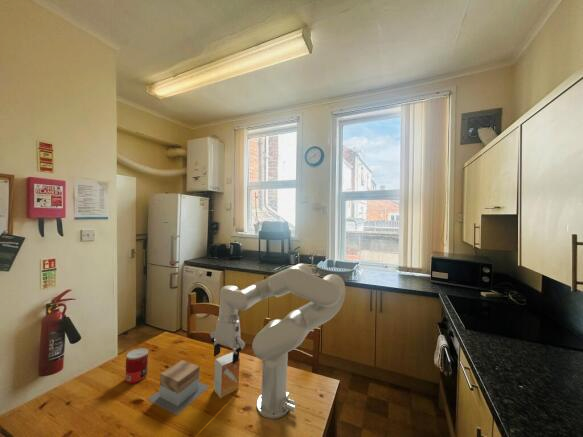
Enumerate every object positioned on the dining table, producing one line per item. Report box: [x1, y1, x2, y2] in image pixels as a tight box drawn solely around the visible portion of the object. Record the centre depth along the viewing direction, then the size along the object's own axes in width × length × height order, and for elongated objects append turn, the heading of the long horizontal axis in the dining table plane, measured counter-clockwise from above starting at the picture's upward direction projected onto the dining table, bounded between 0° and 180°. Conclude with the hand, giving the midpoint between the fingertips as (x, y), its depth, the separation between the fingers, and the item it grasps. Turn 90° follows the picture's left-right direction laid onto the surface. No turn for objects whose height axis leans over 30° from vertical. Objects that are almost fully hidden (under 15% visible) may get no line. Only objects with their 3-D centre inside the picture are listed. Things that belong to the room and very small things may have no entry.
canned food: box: [124, 347, 149, 385], centre depth 101 cm, size 8×8×11 cm
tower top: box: [159, 359, 200, 394], centre depth 93 cm, size 10×10×4 cm
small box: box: [213, 351, 241, 399], centre depth 96 cm, size 8×6×13 cm
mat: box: [146, 381, 210, 416], centre depth 93 cm, size 16×16×1 cm
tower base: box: [159, 377, 200, 406], centre depth 93 cm, size 10×10×4 cm
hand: (226, 358), depth 96 cm, fingers open, 9 cm apart
